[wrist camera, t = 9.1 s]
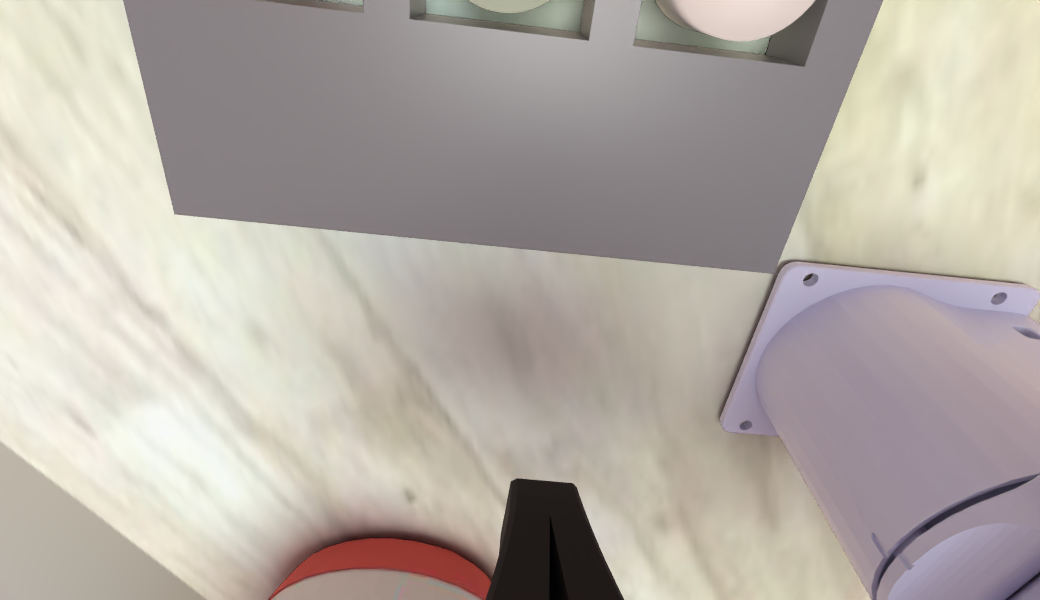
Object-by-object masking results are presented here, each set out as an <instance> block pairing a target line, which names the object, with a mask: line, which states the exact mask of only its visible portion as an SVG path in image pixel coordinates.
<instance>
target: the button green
mask: <svg viewBox="0 0 1040 600" xmlns="http://www.w3.org/2000/svg"><path fill="white" fill-rule="evenodd" d="M469 1H470V2H472V3H473V4H475V5H477V6H479V7H481V8H484V9H487V10H490V11H494V12H499V13H519V12H524V11H528V10H532V9H534V8H536V7H539V6H541V5H543V4H545V3H546V2H548V1H550V0H469Z"/></svg>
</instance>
